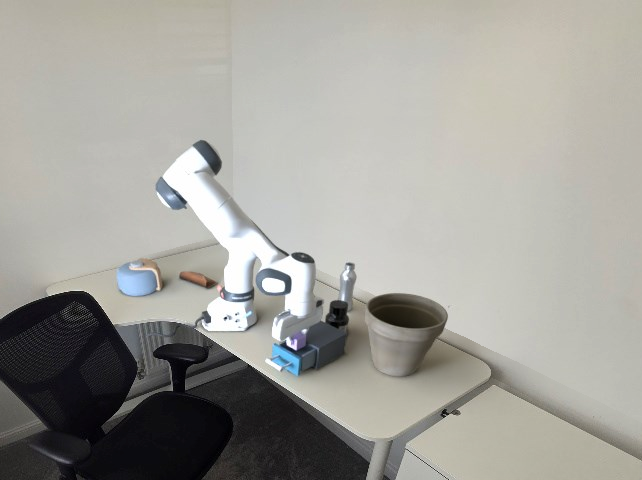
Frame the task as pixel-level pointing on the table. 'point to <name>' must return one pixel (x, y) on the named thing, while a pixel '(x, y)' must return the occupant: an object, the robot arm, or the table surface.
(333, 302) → the ink bottle
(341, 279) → the silver metal bottle
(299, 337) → the purple cube
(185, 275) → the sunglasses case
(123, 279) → the blue kettle
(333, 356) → the drawer cabinet
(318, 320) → the robot arm
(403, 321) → the flower pot
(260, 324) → the table surface
